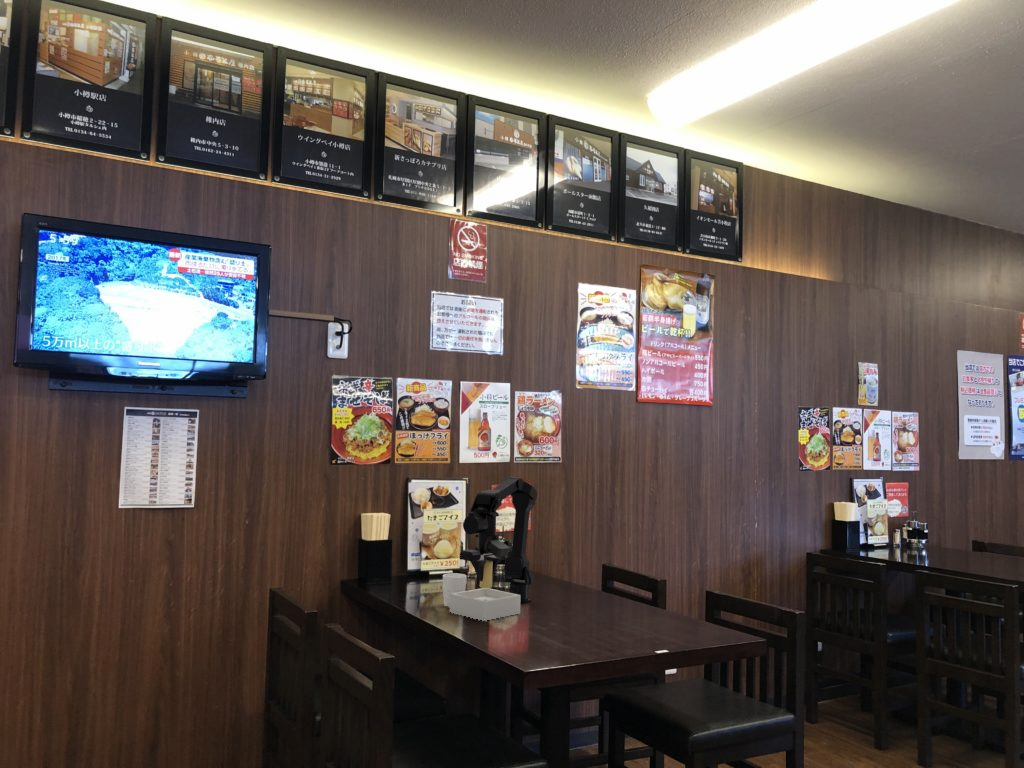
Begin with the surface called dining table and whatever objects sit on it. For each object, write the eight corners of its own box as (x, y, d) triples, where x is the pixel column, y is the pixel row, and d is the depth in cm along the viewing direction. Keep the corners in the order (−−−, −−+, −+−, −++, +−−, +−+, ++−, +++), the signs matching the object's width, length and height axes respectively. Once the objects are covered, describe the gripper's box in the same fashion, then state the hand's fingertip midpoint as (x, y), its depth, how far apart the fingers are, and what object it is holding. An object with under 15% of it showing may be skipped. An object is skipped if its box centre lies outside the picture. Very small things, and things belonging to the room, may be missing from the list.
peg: (486, 585, 261) (486, 560, 261) (494, 586, 258) (495, 561, 258) (477, 586, 258) (477, 561, 258) (485, 588, 255) (486, 563, 256)
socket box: (485, 605, 269) (486, 587, 269) (520, 614, 258) (520, 595, 258) (449, 612, 257) (450, 593, 258) (484, 621, 246) (484, 601, 246)
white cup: (437, 606, 266) (438, 575, 267) (450, 602, 273) (450, 572, 274) (457, 609, 263) (458, 578, 263) (470, 605, 270) (470, 574, 270)
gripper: (483, 536, 247) (482, 587, 246) (525, 531, 260) (524, 580, 259) (459, 532, 254) (457, 582, 254) (500, 528, 268) (499, 575, 267)
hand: (485, 580), depth 258 cm, fingers closed on peg, 4 cm apart
